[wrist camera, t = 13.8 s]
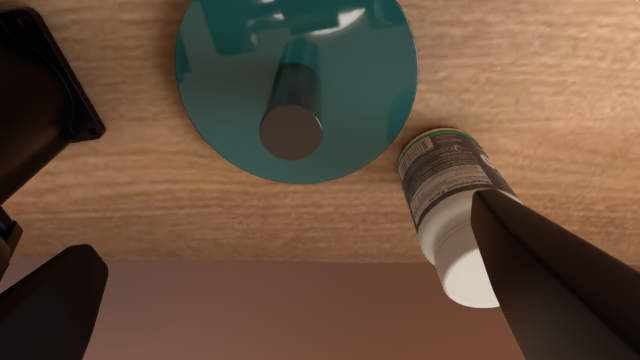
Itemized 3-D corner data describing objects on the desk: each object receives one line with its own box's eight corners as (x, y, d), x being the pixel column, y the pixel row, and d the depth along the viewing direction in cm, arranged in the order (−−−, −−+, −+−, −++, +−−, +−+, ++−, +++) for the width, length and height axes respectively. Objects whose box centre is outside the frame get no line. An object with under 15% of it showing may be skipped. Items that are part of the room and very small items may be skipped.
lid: (414, 159, 21) (441, 227, 16) (224, 184, 22) (199, 254, 17) (412, -82, 14) (456, -83, 9) (139, -29, 15) (62, -7, 11)
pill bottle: (477, 186, 22) (550, 307, 15) (399, 198, 22) (434, 321, 16) (481, 116, 19) (572, 226, 12) (392, 133, 20) (430, 247, 13)
